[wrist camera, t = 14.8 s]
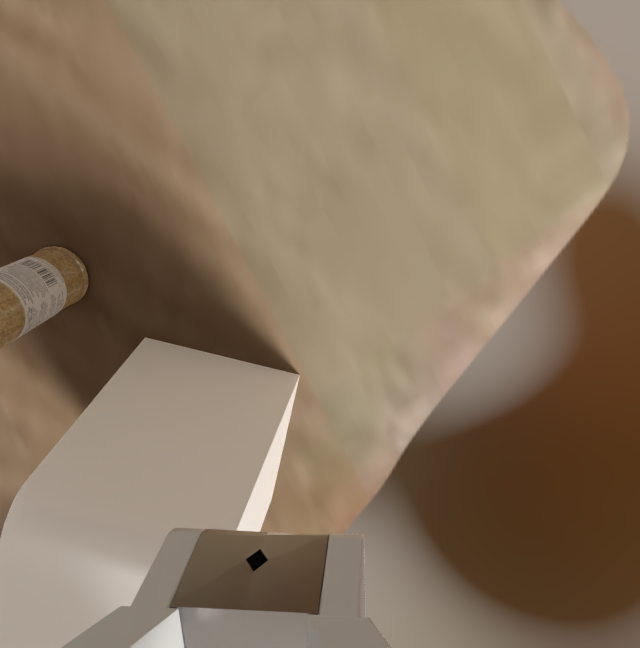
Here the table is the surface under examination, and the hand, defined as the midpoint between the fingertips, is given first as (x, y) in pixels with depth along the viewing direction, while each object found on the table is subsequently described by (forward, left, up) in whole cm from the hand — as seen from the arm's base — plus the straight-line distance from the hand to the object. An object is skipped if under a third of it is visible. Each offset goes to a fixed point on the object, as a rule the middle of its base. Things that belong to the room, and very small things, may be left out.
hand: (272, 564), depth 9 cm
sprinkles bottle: (-22, -4, -33) cm, 40 cm away
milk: (-12, -16, -33) cm, 39 cm away
